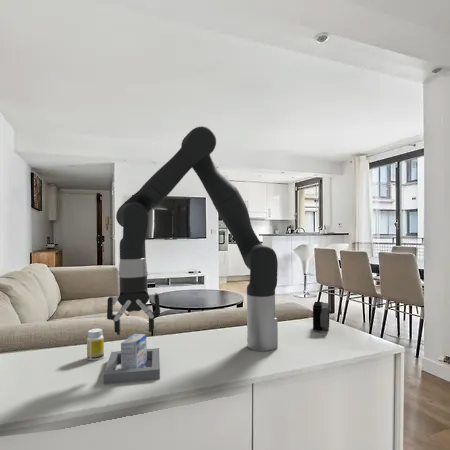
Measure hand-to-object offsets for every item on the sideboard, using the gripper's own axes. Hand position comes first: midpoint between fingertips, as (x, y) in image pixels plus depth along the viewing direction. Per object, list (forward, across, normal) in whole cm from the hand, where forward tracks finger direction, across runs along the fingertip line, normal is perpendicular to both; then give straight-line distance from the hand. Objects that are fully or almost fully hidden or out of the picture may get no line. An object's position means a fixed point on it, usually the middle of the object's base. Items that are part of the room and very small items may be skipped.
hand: (134, 332), depth 96 cm
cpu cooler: (+12, -68, -22) cm, 72 cm away
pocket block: (+10, 0, 0) cm, 10 cm away
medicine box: (+10, 0, 0) cm, 11 cm away
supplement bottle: (+10, +12, -11) cm, 20 cm away
